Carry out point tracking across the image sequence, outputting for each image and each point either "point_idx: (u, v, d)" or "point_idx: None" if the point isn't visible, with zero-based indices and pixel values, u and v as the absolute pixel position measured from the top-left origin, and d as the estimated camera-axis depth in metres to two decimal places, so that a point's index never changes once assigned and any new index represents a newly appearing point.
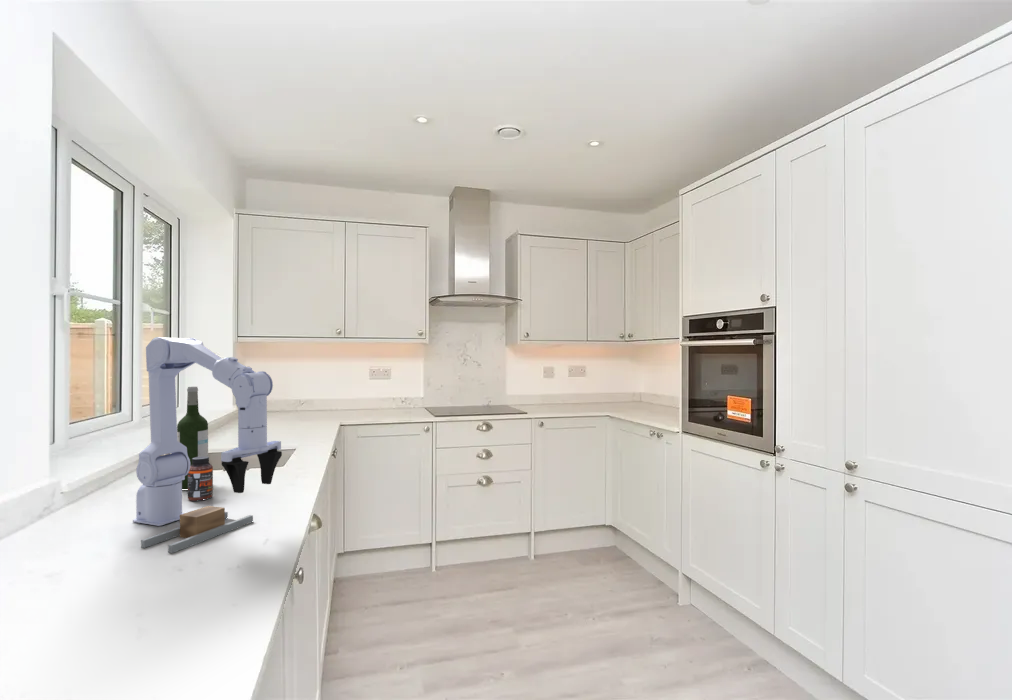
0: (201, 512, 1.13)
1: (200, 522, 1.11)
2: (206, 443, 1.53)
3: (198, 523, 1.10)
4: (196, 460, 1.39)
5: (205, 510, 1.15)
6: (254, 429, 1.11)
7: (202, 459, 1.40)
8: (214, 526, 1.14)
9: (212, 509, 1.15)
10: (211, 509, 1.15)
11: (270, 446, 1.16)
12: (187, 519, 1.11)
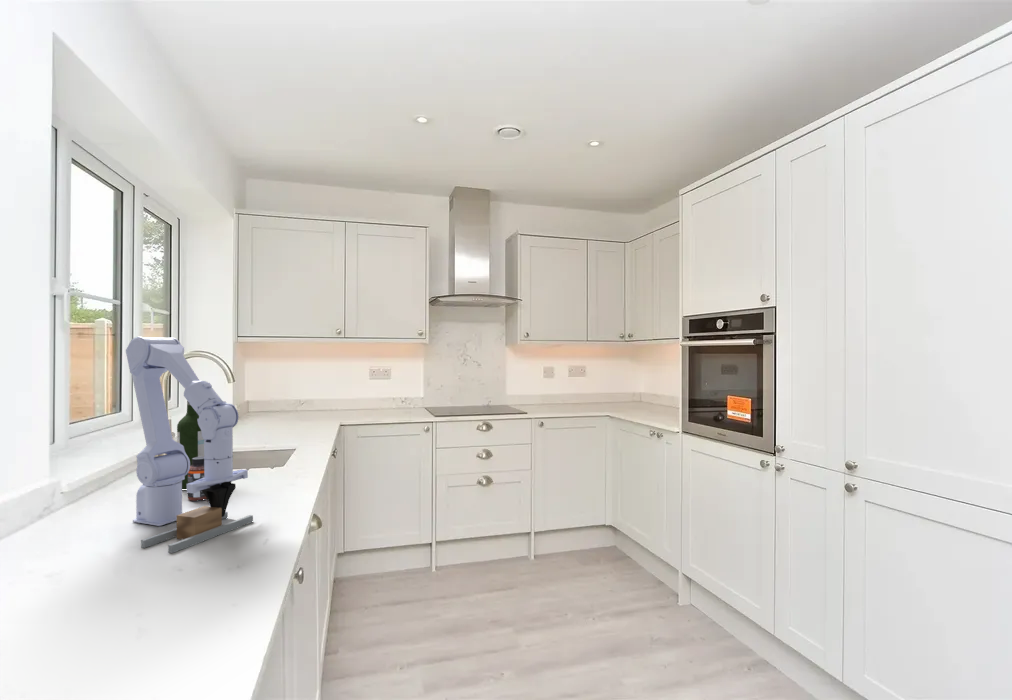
0: (198, 512, 1.13)
1: (198, 522, 1.10)
2: None
3: (196, 523, 1.10)
4: (196, 460, 1.39)
5: (201, 510, 1.14)
6: (219, 460, 1.16)
7: (202, 459, 1.40)
8: (211, 526, 1.13)
9: (209, 509, 1.15)
10: (208, 509, 1.15)
11: (236, 476, 1.20)
12: (184, 519, 1.10)
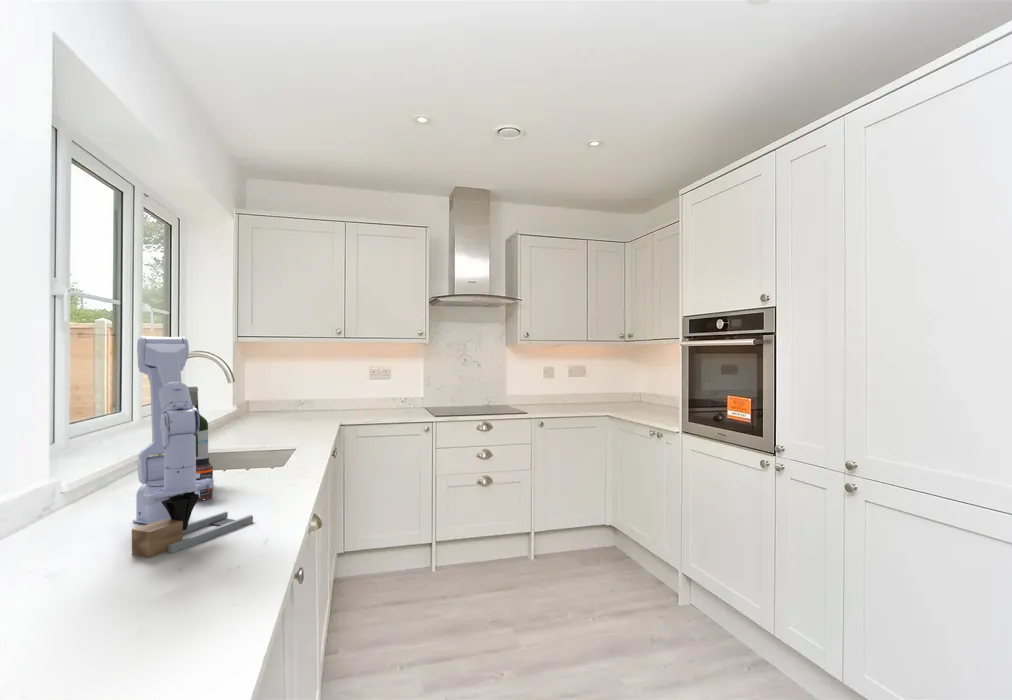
0: (156, 526, 1.04)
1: (154, 537, 1.01)
2: (206, 443, 1.53)
3: (152, 538, 1.01)
4: (196, 460, 1.39)
5: (160, 523, 1.05)
6: (180, 469, 1.07)
7: (202, 459, 1.40)
8: (170, 541, 1.05)
9: (169, 522, 1.06)
10: (167, 522, 1.06)
11: (199, 486, 1.11)
12: (139, 533, 1.01)
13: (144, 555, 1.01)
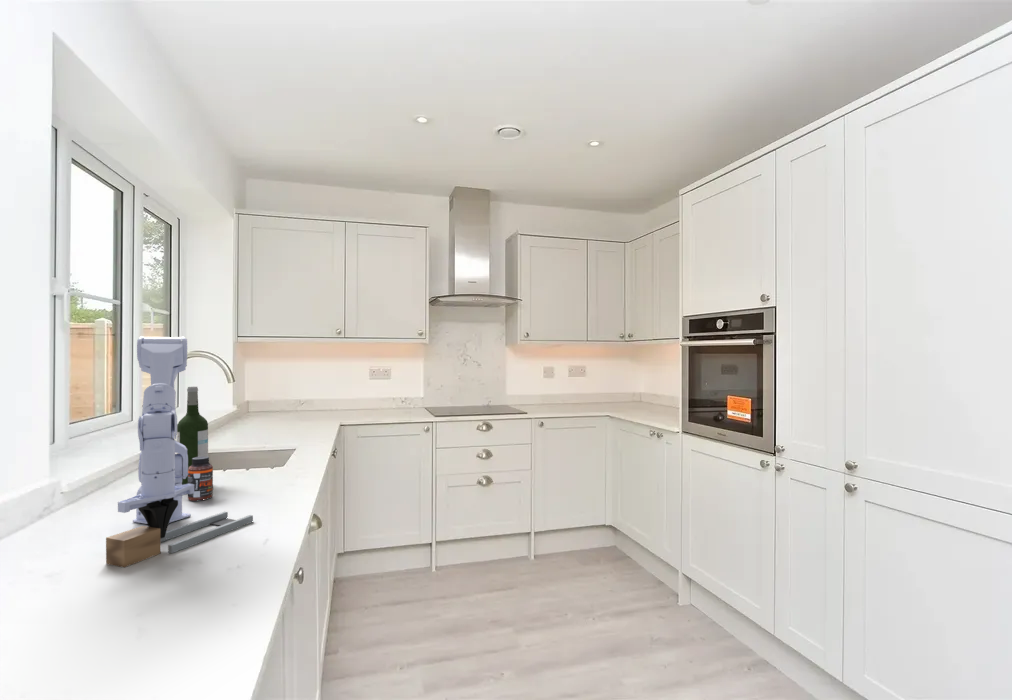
0: (132, 534, 0.99)
1: (129, 546, 0.97)
2: (206, 443, 1.53)
3: (127, 547, 0.97)
4: (196, 460, 1.39)
5: (137, 531, 1.01)
6: (158, 475, 1.02)
7: (202, 459, 1.40)
8: (147, 550, 1.00)
9: (145, 530, 1.01)
10: (144, 530, 1.01)
11: (179, 491, 1.07)
12: (114, 542, 0.97)
13: (119, 565, 0.97)
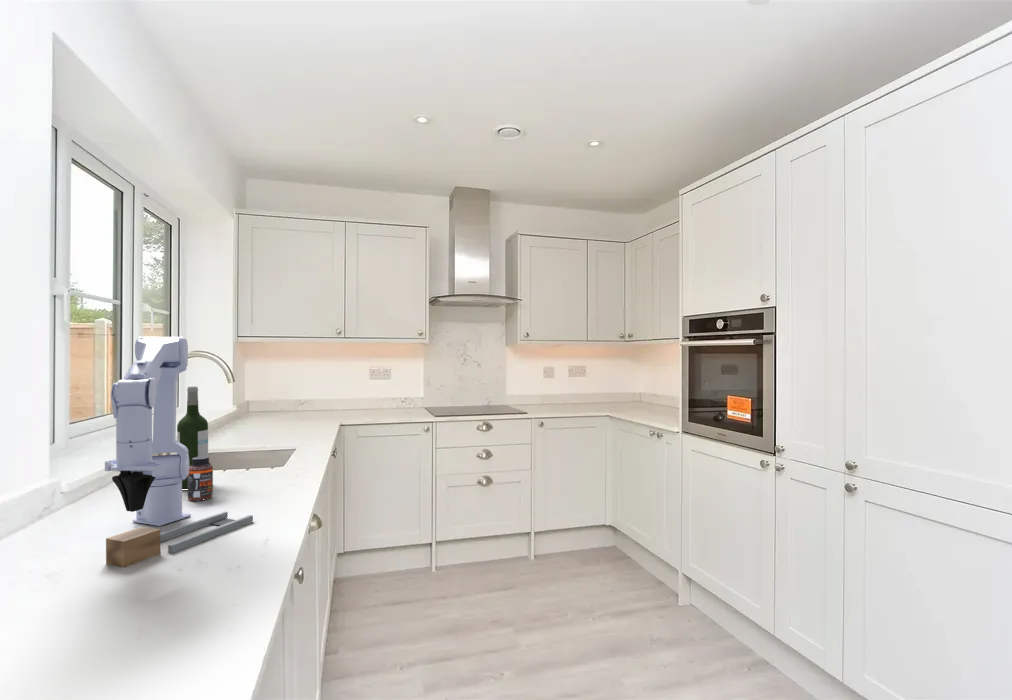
0: (131, 535, 0.99)
1: (129, 547, 0.97)
2: (206, 443, 1.53)
3: (127, 548, 0.97)
4: (196, 460, 1.39)
5: (137, 532, 1.01)
6: (116, 443, 0.99)
7: (202, 459, 1.40)
8: (147, 551, 1.00)
9: (145, 531, 1.01)
10: (144, 531, 1.01)
11: (132, 468, 0.97)
12: (114, 543, 0.97)
13: (119, 565, 0.97)
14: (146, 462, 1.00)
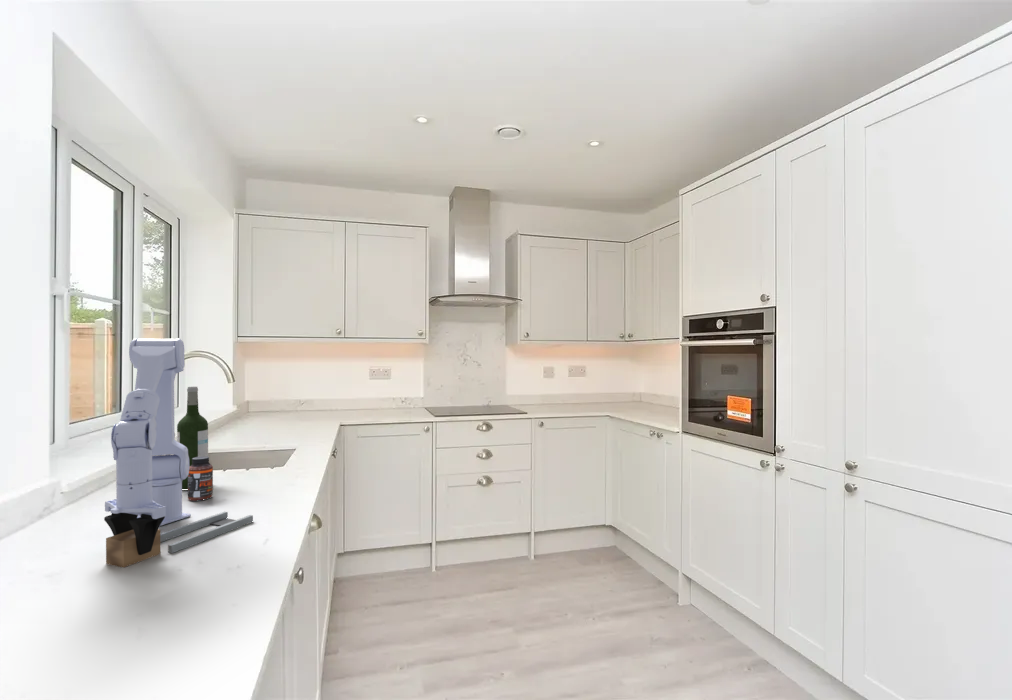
0: (131, 535, 0.99)
1: (128, 546, 0.97)
2: (206, 443, 1.53)
3: (126, 548, 0.97)
4: (196, 460, 1.39)
5: None
6: (116, 485, 0.99)
7: (202, 459, 1.40)
8: None
9: None
10: None
11: (133, 510, 0.97)
12: (114, 543, 0.97)
13: (118, 565, 0.97)
14: (146, 503, 1.00)
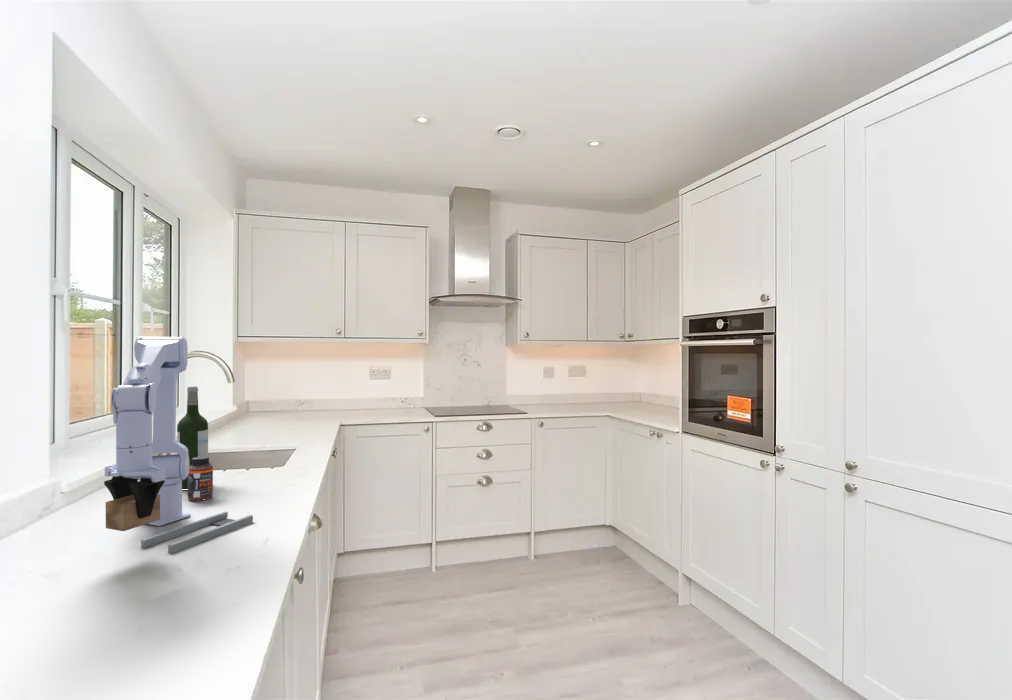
0: (131, 499, 0.99)
1: (128, 510, 0.97)
2: (206, 443, 1.53)
3: (126, 511, 0.96)
4: (196, 460, 1.39)
5: None
6: (116, 448, 0.99)
7: (202, 459, 1.40)
8: None
9: None
10: None
11: (132, 473, 0.97)
12: (113, 506, 0.97)
13: (118, 529, 0.96)
14: (146, 467, 1.00)
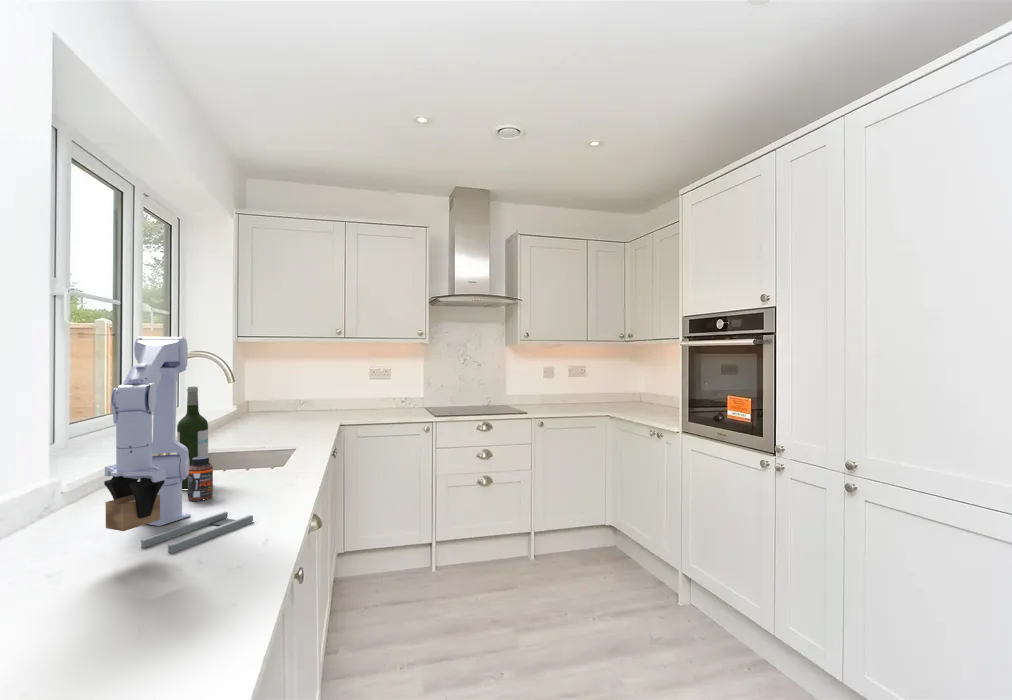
0: (131, 499, 0.99)
1: (128, 510, 0.97)
2: (206, 443, 1.53)
3: (126, 511, 0.96)
4: (196, 460, 1.39)
5: None
6: (116, 448, 0.99)
7: (202, 459, 1.40)
8: None
9: None
10: None
11: (132, 473, 0.97)
12: (113, 506, 0.97)
13: (118, 529, 0.96)
14: (146, 467, 1.00)
